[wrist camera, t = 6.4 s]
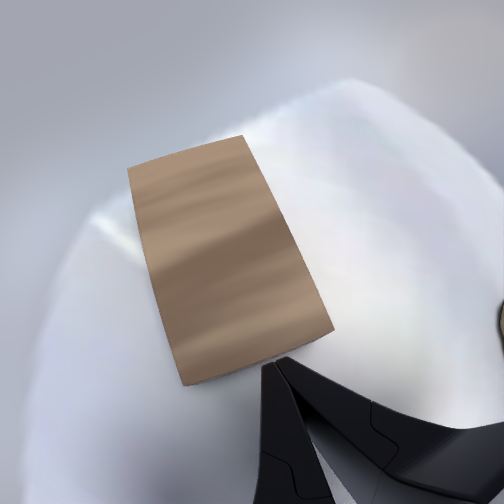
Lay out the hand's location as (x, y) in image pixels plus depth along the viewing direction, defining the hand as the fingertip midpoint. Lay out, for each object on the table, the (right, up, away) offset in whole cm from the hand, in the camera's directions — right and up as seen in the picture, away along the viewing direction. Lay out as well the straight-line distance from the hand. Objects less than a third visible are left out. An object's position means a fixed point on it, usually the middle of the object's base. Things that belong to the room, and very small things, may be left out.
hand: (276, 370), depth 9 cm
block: (0, -2, +5) cm, 6 cm away
